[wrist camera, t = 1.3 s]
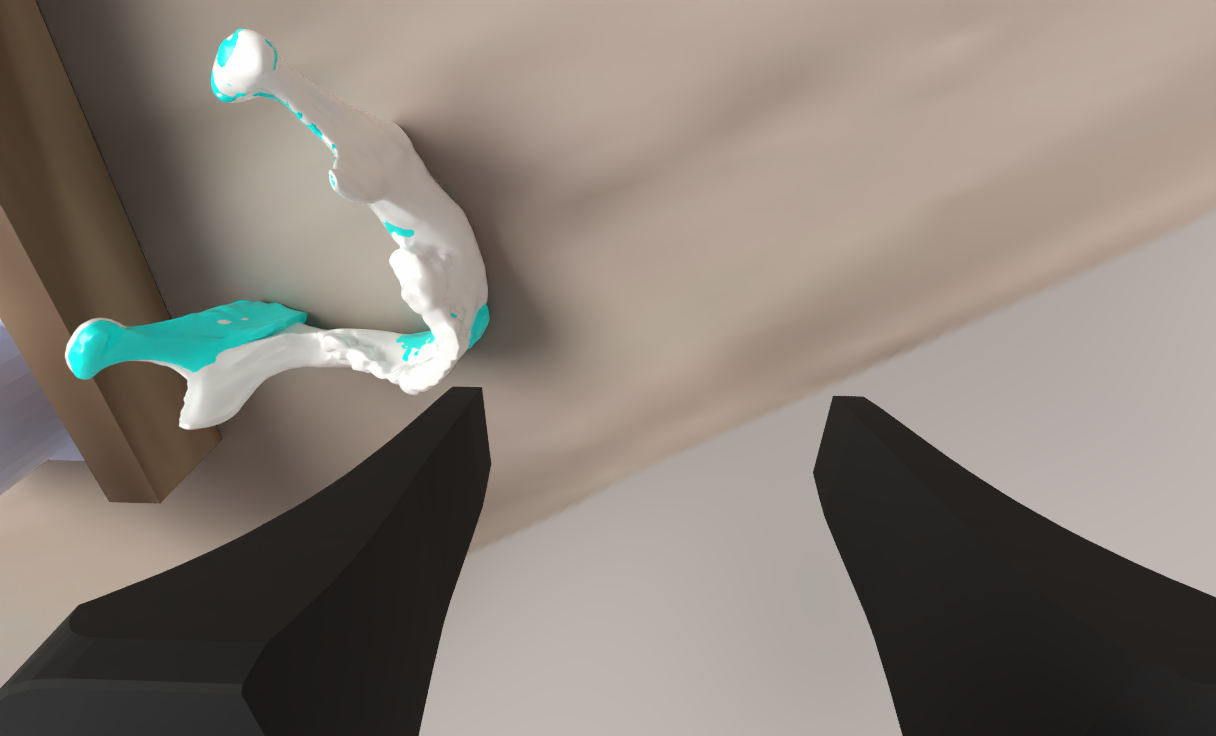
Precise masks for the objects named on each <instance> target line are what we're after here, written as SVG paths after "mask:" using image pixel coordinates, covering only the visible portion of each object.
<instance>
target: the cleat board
mask: <svg viewBox="0 0 1216 736" xmlns="http://www.w3.org/2000/svg"><path fill="white" fill-rule="evenodd" d="M94 318H109V319H112V320H114V321H117V322H119V323H120V324H122V325H124V326H140V325H147V324H152V323H158V322H162V321H166V320H171V319H170V317H169V314H168V312H167V309H166V307H165V305H164V302H163V300H162V298H161V295H160V293H159V291H158V288H157V286H156V284H155V281H154V279H153V276H152V274H151V272H150V269H149V267H148V265H147V262H146V260H145V258H144V255H143V253H142V251H141V248H140V246H139V244H138V241H137V239H136V236H135V234H134V232H133V229H132V227H131V225H130V222H129V220H128V218H127V215H126V213H125V211H124V208H123V206H122V203H121V201H120V199H119V196H118V194H117V192H116V189H115V187H114V185H113V182H112V180H111V178H110V175H109V173H108V170H107V168H106V166H105V163H104V161H103V159H102V156H101V154H100V152H99V149H98V147H97V145H96V142H95V140H94V138H93V135H92V133H91V130H90V128H89V126H88V123H87V121H86V119H85V116H84V114H83V112H82V109H81V107H80V105H79V102H78V100H77V97H76V95H75V93H74V90H73V88H72V86H71V83H70V81H69V79H68V76H67V74H66V72H65V69H64V67H63V64H62V62H61V60H60V57H59V55H58V53H57V50H56V48H55V46H54V43H53V41H52V39H51V36H50V34H49V32H48V29H47V27H46V24H45V22H44V20H43V17H42V15H41V13H40V10H39V8H38V6H37V3H36V1H35V0H0V319H1V321H2V322H3V324H4V326H5V327H6V329H7V331H8V332H9V334H10V336H11V337H12V339H13V341H14V342H15V344H16V346H17V347H18V349H19V351H20V352H21V354H22V356H23V357H24V359H25V361H26V363H27V364H28V366H29V368H30V369H31V371H32V373H33V374H34V376H35V378H36V379H37V381H38V383H39V384H40V386H41V388H42V389H43V391H44V393H45V394H46V396H47V398H48V399H49V401H50V403H51V405H52V406H53V408H54V410H55V411H56V413H57V415H58V416H59V418H60V420H61V421H62V423H63V425H64V426H65V428H66V430H67V431H68V433H69V435H70V436H71V438H72V440H73V441H74V443H75V445H76V447H77V448H78V450H79V452H80V453H81V455H82V457H83V458H84V460H85V462H86V463H87V465H88V467H89V468H90V470H91V472H92V473H93V475H94V477H95V478H96V480H97V482H98V483H99V485H100V487H101V489H102V490H103V492H104V494H105V495H106V497H107V499H108V500H109V502H129V503H161V502H162V501H163V500H164V499H165V498H166V497H167V496H168V495H169V494H170V493H171V491H172V490H173V489H174V488H175V487H176V486H177V485H178V484H179V483H180V482H181V481H182V480H183V479H184V478H185V477H186V476H187V475H188V474H189V473H190V472H191V471H192V470H193V469H194V468H195V467H196V466H197V465H198V463H199V462H200V461H201V460H202V459H203V458H204V457H205V456H206V455H207V454H208V453H209V452H210V451H211V450H212V449H213V448H214V447H215V446H216V445H217V444H218V443H219V442H220V441H221V440H222V439H221V437H220V434H219V432H218V430H217V427H216V425H215V426H211V427H206V428H200V429H193V430H187V429H184V428H181V427H180V426H179V423H180V421H179V419H180V416H181V414H180V413H181V410H182V408H183V407H184V404H185V402H184V397H185V395H186V392H187V390H188V386H187V382H188V381H187V379H186V378H184V377H183V376H182V375H181V374H180V373H179V372H177V371H175V370H174V369H172V368H170V367H168V366H163V365H159V364H156V363H152V362H145V361H125V362H120V363H117V364H113V365H111V366H108V367H106V368H104V369H102V370H101V371H99V372H98V373H97V374H96V375H95V376H94V377H93V378H91V379H88V380H84V379H80V378H78V377H76V376H75V375H74V373H73V372H72V371H71V370H70V369H69V367H68V365H67V363H66V359H65V351H66V346H67V343H68V342H69V340H70V338H71V336H72V335H73V333H74V332H75V330H76V329H77V328H78V327H79V326H80V325H81V324H83V323H85V322H87V321H89V320H91V319H94Z"/></svg>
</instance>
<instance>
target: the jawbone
mask: <svg viewBox="0 0 1216 736" xmlns="http://www.w3.org/2000/svg"><path fill="white" fill-rule="evenodd" d="M211 87H212V90H213V93H214V94H215V95H216V97H217V98H218V99H219V100H221V101H223V102H228V103H238V102H243V101H246V100H250V99H254V98H257V97H265V98H269V99H272V100H275V101H278V102H280V103H282V104H284V105H285V106H287V107H288V108H289V109H290V110H291V111H292V112H293V113H294V114H295V115H296V116H297V117H298V118H299V119H300V120H301V121H302V122H303V123H304V124H305V125H306V126H307V127H308V128H310V129H311V130H312V131H313V132H314V133H315V134H316V135H317V136H318V137H319V138H320V139H321V140H322V141H323V142H324V143H325V144H326V145H327V146H328V147H329V149H330V150H331V151H332V152H333V154H334V155H335V157H336V158H335V161H334V166H333V169H331V170H330V171H329V178H330V183H331V186H332V188H333V189H334V190H335V191H336V192H337V193H338V194H339V195H341V196H342V197H344V198H345V199H347V200H350V201H352V202H355V203H359V204H363V205H369V206H370V207H371V209H372V210H373V211H374V212H375V213H376V215H377V216H378V217H379V219H380V220H381V221H382V224H383V225H384V226H385V227H386V228H387V230H388V231H389V233H390V234H391V236H392V237H393V239H394V240H395V241H396V242H397V243H398V244H399V245H400V249H398V250H396V251H394V252H393V254H392V255H391V257H390V260H389V262H390V265H391V266H392V268H393V269H394V272H395V274H396V276H397V277H398V279H399V280H400V284H401V287H402V291H401V296H402V298H403V299H404V300H405V301H406V302H407V304H408V305H409V306H410V308H411V309H412V310H413V311H415V312H416V313H418V314H421V315H422V317H423V319H424V321H425V323H426V324H427V325H428V326H429V327H430V329H431V330H430V331H425V332H419V333H413V334H401V333H394V332H389V331H380V330H370V329H349V328H342V329H332V330H324V329H319V328H317V327H310V326H308V325H305V324H304V323H305V322H306V320H307V313H306V312H301V311H296V310H293V309H290V308H287V307H285V306H283V305H282V304H279V303H269V304H268V303H263V302H261V301H255V302H251V301H248V300H239V301H235V302H233V303H230V304H225V305H220V306H217V307H213V308H210V309H207V310H205V311H202V312H199V313H190V314H188V315H185V316H182V317H179V318H175V319H171V320H166V321H162V322H158V323H152V324H147V325H140V326H124V325H122V324H120V323H119V322H117V321H114V320H112V319H109V318H94V319H91V320H89V321H87V322H85V323H83V324H81V325H80V326H79V327H78V328H77V329H76V330H75V332H74V333H73V335H72V336H71V338H70V340H69V342H68V343H67V346H66V351H65V359H66V363H67V365H68V367H69V369H70V370H71V371H72V372H73V373H74V375H75V376H76V377H78V378H80V379H84V380H88V379H91V378H93V377H94V376H95V375H96V374H97V373H98V372H99V371H101V370H102V369H104V368H106V367H108V366H111V365H113V364H117V363H120V362H125V361H145V362H152V363H156V364H159V365H163V366H168V367H170V368H172V369H174V370H175V371H177V372H179V373H180V374H181V375H182V376H183V377H184V378H186V379H187V381H188V382H187V386H188V390H187V392H186V395H185V397H184V402H185V404H184V407H183V408H182V410H181V413H180V414H181V416H180V419H179V421H180V423H179V426H180V427H181V428H184V429H187V430H193V429H200V428H206V427H211V426H215V425H218V424H221V423H223V422H225V421H227V420H229V419H230V418H232V417H233V416H234V415H235V414H236V413H237V412H238V411H239V410H240V409H241V407H242V406H243V405H244V404H245V402H246V401H247V400H248V399H249V397H250V396H251V395H252V394H253V393H254V391H255V390H256V389H257V388H258V387H259V386H260V384H261V383H263V382H264V381H265V380H266V379H267V378H269V377H271V376H273V375H275V374H278V373H281V372H283V371H286V370H289V369H295V368H301V367H320V368H325V367H352V369H353V370H357V371H362V372H366V373H372V374H373V375H375V376H376V377H377V378H380V379H388V380H389V381H390V382H392V383H394V384H398V385H400V387H401V389H402V390H403V391H404V392H405V393H407V394H411V395H417V394H419V393H420V392H426V391H428V390H430V389H431V388H432V387H433V386H434V385H437V384H439V383H440V382H441V381H442V380H443V378H444V377H446V376H447V375H448V374H449V373H450V371H451V370H452V367H454V365H455V364H456V363H457V361H458V359H459V358H460V357H461V356H462V355H463V354H464V353H465V352H466V350H468V349H469V348H471V347H472V346H473V345H474V344H475V343H476V342H477V341H478V340H479V339H480V338H481V337H482V335H483V333H484V332H485V330H486V328H487V326H488V323H489V321H490V315H489V308H488V307H487V304H486V303H487V299H488V284H487V279H486V271H485V265H484V262H483V259H482V256H481V253H480V250H479V247H478V244H477V241H476V238H475V235H474V233H473V230H472V228H471V226H470V224H469V221H468V219H467V217H466V215H465V213H464V212H463V210H462V209H461V208H460V207H459V205H458V204H456V203H455V202H454V201H453V200H452V199H451V198H450V197H449V196H448V195H447V194H446V192H445V191H444V190H443V189H442V188H441V187H440V186H439V185H438V184H437V183H436V182H435V181H434V179H433V178H432V177H431V176H430V174H429V172H428V171H427V169H426V167H425V165H424V163H423V161H422V160H421V158H420V157H419V155H418V154H417V153H416V151H415V149H414V148H413V144H412V142H411V140H410V139H409V138H408V136H407V135H406V134H405V132H404V131H403V130H402V129H401V128H400V127H399V126H398V125H396V124H395V123H393V122H390V121H386V120H381V119H378V118H377V117H375V116H373V115H372V114H370V113H368V112H366V111H363V110H361V109H357V108H354V107H352V106H350V105H348V104H347V103H345V102H343V101H342V100H340V99H338V98H337V97H335V96H333V95H332V94H330V93H328V92H327V91H325V90H323V89H322V88H320V87H318V86H317V85H315V84H314V83H312V82H311V81H309V80H308V79H306V78H305V77H303V76H302V75H301V74H299V73H298V72H296V71H295V70H294V69H292V68H291V67H290V66H289V65H287V64H286V63H285V62H284V61H283V60H282V59H281V58H280V57H279V56H278V52H277V49H276V47H275V45H274V44H273V43H272V42H271V41H270V40H269V39H268V38H267V37H266V36H264V35H263V34H261V33H259V32H256V31H254V30H250V29H238V30H236V31H235V32H234V33H233V34H232V35H230V36H229V37H227V38H226V39H225V40H224V41H223V42H222V43H221V45H220V47H219V50H218V53H217V56H216V59H215V62H214V65H213V69H212V73H211Z"/></svg>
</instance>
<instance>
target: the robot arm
mask: <svg viewBox="0 0 1216 736" xmlns="http://www.w3.org/2000/svg"><path fill="white" fill-rule="evenodd" d="M46 460H69V461H85V460H84V458H83V457H82V455H81V453H80V452H79V450H78V448H77V447H76V445H75V443H74V441H73V440H72V438H71V436H70V435H69V433H68V431H67V430H66V428H65V426H64V425H63V423H62V421H61V420H60V418H59V416H58V415H57V413H56V411H55V410H54V408H53V406H52V405H51V403H50V401H49V399H48V398H47V396H46V394H45V393H44V391H43V389H42V388H41V386H40V384H39V383H38V381H37V379H36V378H35V376H34V374H33V373H32V371H31V369H30V368H29V366H28V364H27V363H26V361H25V359H24V357H23V356H22V354H21V352H20V351H19V349H18V347H17V346H16V344H15V342H14V341H13V339H12V337H11V336H10V334H9V332H8V331H7V329H6V327H5V326H4V324H3V322H2V321H1V319H0V495H2V494H3V493H4V492H6V491H7V490H8V489H9V488H11V487H12V486H13V485H15V484H16V483H17V482H19V481H20V480H21V479H23V478H24V477H25V476H27V475H28V474H29V473H31V472H32V471H33V470H35V469H36V468H37V467H38V466H40V465H41V464H42V463H44V462H45V461H46ZM490 467H491V459H490V451H489V443H488V434H487V426H486V418H485V409H484V401H483V393H482V387H452V388H450V389H449V390H448V391H447V392H446V393H444V394H443V395H442V396H441V397H440V398H439V399H438V400H436V401H435V402H434V403H433V404H432V405H431V406H430V407H429V408H427V409H426V410H425V411H424V412H423V413H422V414H421V415H420V416H418V417H417V418H416V419H415V420H414V421H413V422H411V423H410V424H409V425H408V426H407V427H406V428H404V429H403V430H402V431H401V432H400V433H399V434H397V435H396V436H395V437H394V438H393V439H391V440H390V441H389V442H388V443H386V444H385V445H384V446H383V447H381V448H380V449H379V450H377V451H376V452H375V453H373V454H372V455H371V456H370V457H368V458H367V459H366V460H364V461H363V462H362V463H360V464H359V465H358V466H357V467H355V468H354V469H353V470H351V471H350V472H348V473H347V474H346V475H344V476H343V477H341V478H340V479H338V480H337V481H335V482H334V483H332V484H331V485H329V486H328V487H326V488H325V489H323V490H322V491H320V492H318V493H317V494H315V495H314V496H312V497H311V498H309V499H307V500H306V501H304V502H303V503H301V504H299V505H298V506H296V507H294V508H292V509H291V510H289V511H287V512H285V513H283V514H281V515H280V516H278V517H276V518H274V519H272V520H271V521H269V522H267V523H265V524H263V525H261V526H260V527H258V528H256V529H254V530H252V531H251V532H249V533H247V534H245V535H243V536H241V537H239V538H237V539H235V540H233V541H231V542H229V543H227V544H225V545H223V546H220V547H218V548H216V549H214V550H212V551H210V552H208V553H206V554H203V555H201V556H199V557H197V558H195V559H192V560H190V561H188V562H186V563H184V564H181V565H179V566H177V567H174V568H172V569H170V570H167V571H165V572H163V573H160V574H158V575H155V576H153V577H150V578H148V579H145V580H142V581H140V582H137V583H135V584H132V585H130V586H127V587H125V588H122V589H120V590H117V591H114V592H112V593H109V594H107V595H104V596H102V597H99V598H97V599H94V600H91V601H88V602H86V603H83V604H80V605H78V606H77V607H76V608H75V609H74V611H73V612H72V613H71V614H70V615H69V616H68V617H67V618H66V619H65V620H64V621H63V622H62V623H61V624H60V625H59V626H58V628H57V629H56V630H55V631H54V632H53V633H52V634H51V635H50V636H49V637H48V638H47V639H46V640H45V641H44V643H43V644H42V645H41V646H40V647H39V648H38V649H37V650H36V651H35V652H34V653H33V654H32V655H31V656H30V657H29V659H28V660H27V661H26V662H25V663H24V664H23V665H22V666H21V667H20V668H19V669H18V670H17V671H16V672H15V673H14V675H13V676H12V677H11V678H10V679H9V680H8V681H7V682H6V683H5V684H4V685H3V686H2V687H1V688H0V736H419V731H420V726H421V721H422V717H423V712H424V707H425V703H426V698H427V694H428V689H429V685H430V680H431V675H432V671H433V666H434V662H435V658H436V654H437V649H438V645H439V641H440V637H441V632H442V628H443V624H444V620H445V617H446V614H447V610H448V607H449V603H450V600H451V597H452V594H453V592H454V589H455V586H456V583H457V580H458V577H459V574H460V571H461V568H462V566H463V563H464V560H465V557H466V554H467V551H468V548H469V545H470V543H471V540H472V537H473V534H474V531H475V528H476V525H477V522H478V519H479V516H480V513H481V510H482V507H483V502H484V498H485V493H486V488H487V483H488V478H489V472H490ZM813 474H814V478H815V483H816V486H817V491H818V495H819V498H820V502H821V506H822V509H823V513H824V516H825V519H826V521H827V524H828V526H829V529H830V531H831V534H832V536H833V538H834V541H835V543H836V546H837V548H838V551H839V553H840V555H841V558H842V560H843V562H844V564H845V567H846V569H847V572H848V574H849V576H850V579H851V581H852V584H853V586H854V588H855V591H856V593H857V595H858V598H859V600H860V602H861V605H862V607H863V609H864V612H865V614H866V617H867V620H868V622H869V625H870V628H871V630H872V633H873V636H874V639H875V642H876V645H877V649H878V652H879V655H880V658H881V662H882V665H883V668H884V671H885V675H886V678H887V681H888V685H889V688H890V692H891V695H892V699H893V703H894V706H895V710H896V713H897V717H898V721H899V724H900V728H901V731H902V735H903V736H1216V597H1214V596H1211V595H1209V594H1206V593H1204V592H1202V591H1199V590H1197V589H1194V588H1192V587H1190V586H1187V585H1185V584H1182V583H1180V582H1177V581H1175V580H1172V579H1170V578H1168V577H1166V576H1163V575H1161V574H1159V573H1156V572H1154V571H1152V570H1150V569H1147V568H1145V567H1143V566H1141V565H1139V564H1136V563H1134V562H1132V561H1130V560H1128V559H1125V558H1124V557H1121V556H1119V555H1117V554H1115V553H1113V552H1111V551H1109V550H1107V549H1105V548H1103V547H1101V546H1099V545H1097V544H1094V543H1092V542H1090V541H1088V540H1086V539H1084V538H1082V537H1080V536H1079V535H1077V534H1075V533H1072V532H1071V531H1069V530H1067V529H1065V528H1063V527H1061V526H1059V525H1058V524H1056V523H1054V522H1052V521H1050V520H1049V519H1047V518H1045V517H1043V516H1041V515H1040V514H1038V513H1036V512H1034V511H1032V510H1031V509H1029V508H1027V507H1025V506H1024V505H1022V504H1020V503H1018V502H1017V501H1015V500H1013V499H1012V498H1010V497H1008V496H1007V495H1005V494H1004V493H1002V492H1000V491H999V490H997V489H996V488H994V487H993V486H991V485H989V484H988V483H986V482H985V481H983V480H982V479H980V478H979V477H977V476H975V475H974V474H972V473H971V472H969V471H968V470H966V469H965V468H963V467H962V466H960V465H959V464H958V463H956V462H954V461H953V460H952V459H950V458H949V457H947V456H946V455H945V454H943V453H942V452H940V451H939V450H937V449H936V448H935V447H933V446H932V445H931V444H929V443H928V442H926V441H925V440H924V439H922V438H921V437H919V436H918V435H917V434H915V433H914V432H913V431H911V430H910V429H909V428H907V427H906V426H905V425H903V424H902V423H900V422H899V421H898V420H896V419H895V418H894V417H892V416H891V415H890V414H888V413H887V412H885V411H884V410H883V409H881V408H880V407H878V406H877V405H875V404H874V403H872V402H871V401H869V400H868V399H866V398H865V397H856V396H833V398H832V402H831V406H830V410H829V413H828V417H827V421H826V425H825V429H824V433H823V437H822V440H821V444H820V448H819V452H818V456H817V459H816V463H815V467H814V471H813Z"/></svg>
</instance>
